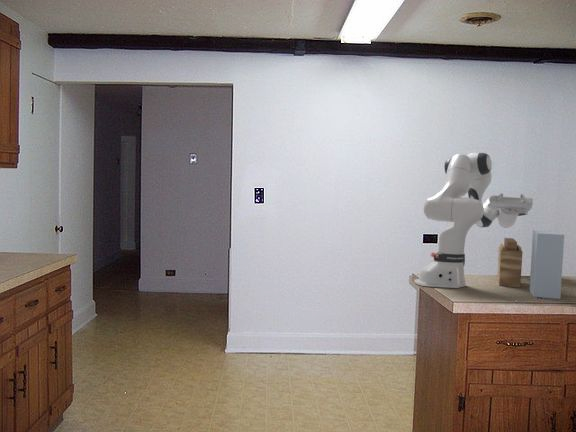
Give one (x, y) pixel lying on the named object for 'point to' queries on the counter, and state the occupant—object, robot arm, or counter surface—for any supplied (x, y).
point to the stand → (546, 264)
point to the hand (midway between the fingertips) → (511, 195)
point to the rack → (509, 267)
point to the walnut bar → (510, 244)
